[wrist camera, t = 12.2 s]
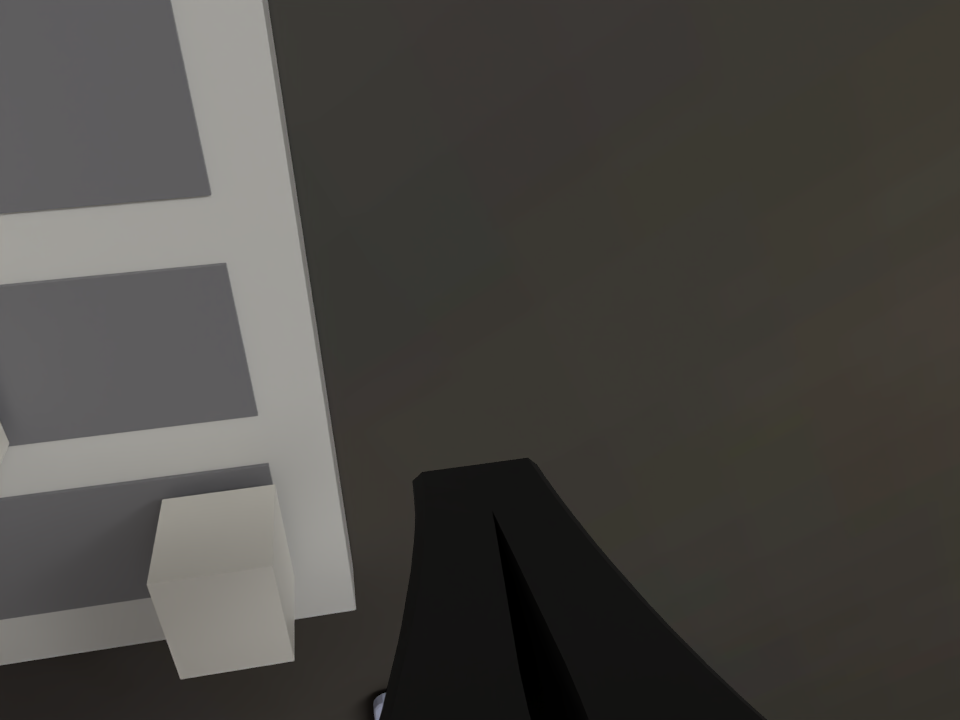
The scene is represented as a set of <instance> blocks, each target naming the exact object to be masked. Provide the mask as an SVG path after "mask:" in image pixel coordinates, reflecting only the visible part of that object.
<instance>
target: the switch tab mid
mask: <svg viewBox="0 0 960 720" xmlns="http://www.w3.org/2000/svg"><path fill="white" fill-rule="evenodd" d="M8 446H9V441H8V439H7V436H6V434H5V432H4V430H3V427H2V425H1V423H0V464H1V462H2V459H3V457H4V455H5V452H6V450H7V448H8Z"/></svg>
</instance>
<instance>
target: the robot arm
mask: <svg viewBox="0 0 960 720" xmlns="http://www.w3.org/2000/svg"><path fill="white" fill-rule="evenodd" d="M413 492H414V504H415V536H414V547H413V556H412V566H411V574H410V579H409V585H408V591H407V597H406V603H405V609H404V614H403V620H402V626H401V631H400V636H399V641H398V645H397V650H396V654H395V658H394V662H393V666H392V670H391V674H390V678H389V682H388V686H387V691H386V692H385V693H382V694H381V695H379V696H377V697H376V699H375V700H374V703H373V708H374V717H375V720H767V719H765V718H764V717H763V716H762V715H761V714H760V713H759V712H758V711H756V710H755V709H754V708H753V707H752V706H751V705H750V704H749V703H748V702H746V701H745V700H744V699H743V698H742V697H741V696H740V695H739V694H738V693H737V692H736V691H735V690H734V689H733V688H731V687H730V686H729V685H728V684H727V683H726V682H725V681H724V680H723V679H722V678H721V677H720V676H719V675H718V674H717V673H716V672H715V671H714V670H713V669H712V668H711V667H710V666H709V665H707V664H706V662H705V661H704V660H703V659H702V658H701V657H700V656H699V655H698V654H697V653H696V652H695V651H694V650H693V649H692V648H691V647H690V646H689V645H688V644H687V643H686V642H685V641H684V640H683V639H682V638H681V637H680V636H679V635H678V634H677V633H676V632H675V631H674V630H673V629H672V628H671V627H670V626H669V625H668V624H667V623H666V622H665V621H664V620H663V618H662V617H661V616H660V615H659V614H658V613H657V612H656V611H655V610H654V609H653V608H652V607H651V606H650V605H649V604H648V602H647V601H646V600H645V599H644V598H643V597H642V596H641V594H640V593H639V592H638V591H637V590H636V589H635V588H634V587H633V585H632V584H631V583H630V582H629V581H628V580H627V579H626V578H625V576H624V575H623V574H622V573H621V572H620V571H619V570H618V569H617V567H616V566H615V565H614V564H613V563H612V562H611V561H610V559H609V558H608V557H607V556H606V555H605V553H604V552H603V551H602V550H601V549H600V547H599V546H598V545H597V544H596V543H595V541H594V540H593V539H592V538H591V536H590V535H589V534H588V533H587V531H586V530H585V529H584V528H583V526H582V525H581V524H580V523H579V521H578V520H577V519H576V518H575V516H574V515H573V514H572V513H571V511H570V510H569V509H568V507H567V506H566V505H565V503H564V502H563V501H562V499H561V498H560V497H559V495H558V494H557V493H556V491H555V490H554V488H553V487H552V486H551V484H550V483H549V481H548V480H547V479H546V477H545V476H544V474H543V473H542V471H541V470H540V468H539V467H538V465H537V464H535V463H534V462H533V461H531V460H530V459H529V458H523V459H516V460H508V461H501V462H494V463H486V464H479V465H471V466H464V467H457V468H449V469H442V470H434V471H427V472H422V473H421V474H420V475H419V476H418V477H416V478H415V479H414V480H413Z"/></svg>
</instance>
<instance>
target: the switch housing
mask: <svg viewBox="0 0 960 720" xmlns="http://www.w3.org/2000/svg"><path fill="white" fill-rule="evenodd" d="M0 423H1V425H2V427H3V430H4V432H5V434H6V436H7V439H8V441H9V446H8V448H7V450H6V452H5V455H4V457H3V459H2V462H1V464H0V665H6V664H12V663H19V662H25V661H32V660H38V659H44V658H51V657H57V656H64V655H70V654H76V653H83V652H89V651H96V650H102V649H109V648H115V647H121V646H128V645H134V644H141V643H147V642H153V641H160V640H166V638H165V635H164V632H163V629H162V626H161V624H160V621H159V618H158V615H157V612H156V610H155V607H154V604H153V601H152V598H151V596H150V593H149V590H148V587H147V580H148V574H149V569H150V563H151V558H152V553H153V547H154V542H155V536H156V531H157V525H158V520H159V515H160V509H161V504H162V499H169V498H177V497H184V496H192V495H199V494H206V493H214V492H221V491H229V490H236V489H244V488H251V487H259V486H266V485H274V484H275V487H276V491H277V496H278V501H279V506H280V511H281V515H282V520H283V525H284V530H285V534H286V539H287V544H288V549H289V553H290V558H291V563H292V568H293V573H294V619H301V618H307V617H314V616H320V615H326V614H333V613H339V612H346V611H352V610H356V602H355V589H354V575H353V564H352V558H351V551H350V544H349V538H348V531H347V524H346V518H345V511H344V504H343V498H342V491H341V485H340V478H339V471H338V465H337V458H336V451H335V445H334V438H333V432H332V425H331V418H330V412H329V405H328V398H327V392H326V385H325V379H324V372H323V365H322V359H321V352H320V345H319V339H318V332H317V325H316V319H315V312H314V306H313V299H312V292H311V286H310V279H309V272H308V266H307V259H306V253H305V246H304V239H303V233H302V226H301V219H300V213H299V206H298V199H297V193H296V186H295V180H294V173H293V166H292V160H291V153H290V146H289V140H288V133H287V127H286V120H285V113H284V107H283V100H282V93H281V87H280V80H279V73H278V67H277V60H276V54H275V47H274V40H273V34H272V27H271V20H270V14H269V7H268V1H267V0H0Z"/></svg>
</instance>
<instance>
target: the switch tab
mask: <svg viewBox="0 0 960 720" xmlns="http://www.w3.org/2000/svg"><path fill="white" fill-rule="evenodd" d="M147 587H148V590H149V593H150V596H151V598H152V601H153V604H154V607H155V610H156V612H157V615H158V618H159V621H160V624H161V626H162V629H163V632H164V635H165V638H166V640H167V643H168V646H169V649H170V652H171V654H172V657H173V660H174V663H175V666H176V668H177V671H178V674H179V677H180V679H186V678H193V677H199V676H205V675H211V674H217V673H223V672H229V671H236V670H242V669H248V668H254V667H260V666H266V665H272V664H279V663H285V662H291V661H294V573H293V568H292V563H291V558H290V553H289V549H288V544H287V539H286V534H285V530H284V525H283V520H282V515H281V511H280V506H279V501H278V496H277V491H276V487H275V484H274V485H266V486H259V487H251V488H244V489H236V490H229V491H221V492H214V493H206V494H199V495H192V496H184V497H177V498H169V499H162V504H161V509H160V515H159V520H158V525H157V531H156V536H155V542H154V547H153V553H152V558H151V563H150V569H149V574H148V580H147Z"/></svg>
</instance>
